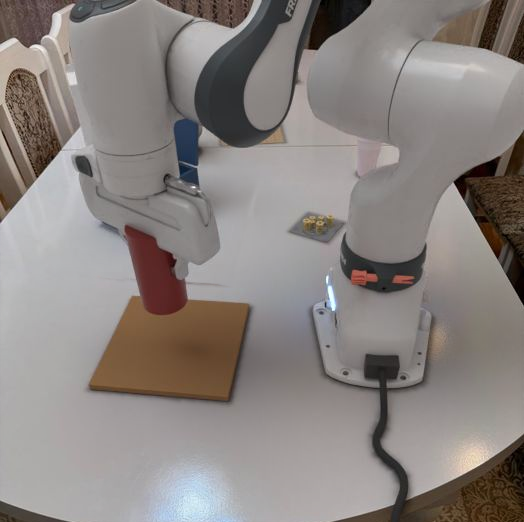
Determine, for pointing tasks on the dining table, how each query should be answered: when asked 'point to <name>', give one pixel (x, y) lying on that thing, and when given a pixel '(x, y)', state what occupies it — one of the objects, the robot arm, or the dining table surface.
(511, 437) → the dining table surface
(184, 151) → the cooler lid
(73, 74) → the milk
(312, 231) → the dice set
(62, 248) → the dining table surface
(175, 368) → the mat
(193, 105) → the robot arm
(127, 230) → the can
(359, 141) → the smoothie
